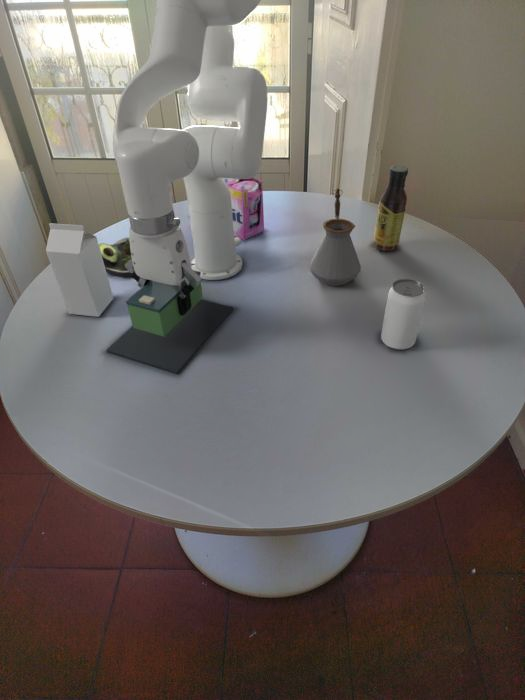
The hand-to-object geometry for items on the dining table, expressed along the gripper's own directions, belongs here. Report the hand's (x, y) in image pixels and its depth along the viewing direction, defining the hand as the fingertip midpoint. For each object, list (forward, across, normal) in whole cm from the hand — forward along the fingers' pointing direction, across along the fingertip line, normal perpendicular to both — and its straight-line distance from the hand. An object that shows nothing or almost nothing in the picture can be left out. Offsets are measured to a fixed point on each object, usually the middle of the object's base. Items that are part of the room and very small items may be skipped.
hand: (168, 306), depth 91 cm
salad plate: (+6, +26, -20) cm, 33 cm away
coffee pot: (+6, -22, -36) cm, 43 cm away
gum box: (+5, +13, -47) cm, 49 cm away
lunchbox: (-2, 0, +7) cm, 7 cm away
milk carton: (+6, +21, 0) cm, 22 cm away
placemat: (+6, 0, 0) cm, 6 cm away
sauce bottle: (+5, -31, -50) cm, 59 cm away
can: (+6, -42, -14) cm, 45 cm away
